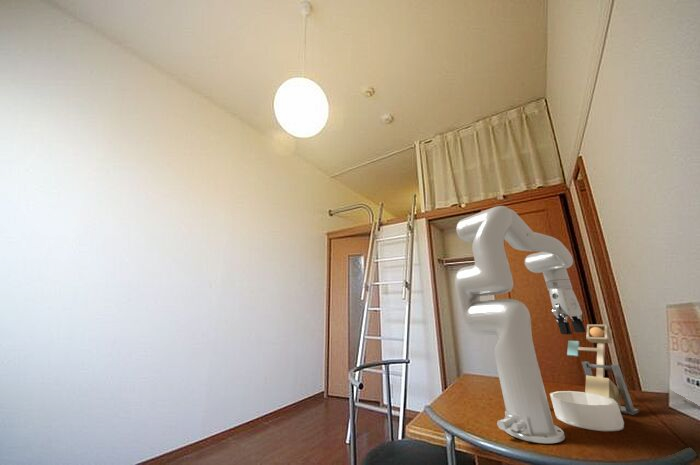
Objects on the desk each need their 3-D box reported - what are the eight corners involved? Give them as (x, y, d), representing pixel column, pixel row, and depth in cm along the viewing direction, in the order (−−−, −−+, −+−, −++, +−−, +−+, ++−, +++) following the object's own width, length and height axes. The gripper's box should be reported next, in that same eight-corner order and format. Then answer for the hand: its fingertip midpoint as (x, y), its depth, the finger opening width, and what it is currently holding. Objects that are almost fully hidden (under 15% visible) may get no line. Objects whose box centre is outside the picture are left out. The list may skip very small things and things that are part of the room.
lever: (621, 410, 71) (607, 395, 70) (571, 399, 80) (559, 387, 80) (619, 337, 83) (607, 324, 82) (576, 336, 93) (565, 324, 92)
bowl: (610, 436, 58) (601, 409, 60) (545, 418, 70) (540, 396, 72) (633, 423, 64) (625, 399, 66) (570, 408, 76) (565, 388, 78)
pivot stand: (633, 415, 69) (616, 366, 73) (591, 406, 77) (577, 362, 81) (639, 411, 71) (622, 364, 75) (597, 403, 79) (584, 360, 83)
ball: (603, 339, 80) (599, 327, 81) (589, 338, 83) (586, 327, 84) (608, 338, 82) (604, 326, 83) (594, 338, 85) (591, 326, 86)
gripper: (557, 284, 91) (573, 335, 85) (581, 284, 98) (597, 331, 93) (535, 286, 97) (549, 334, 91) (559, 287, 105) (573, 331, 99)
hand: (573, 333), depth 92 cm, fingers open, 9 cm apart
